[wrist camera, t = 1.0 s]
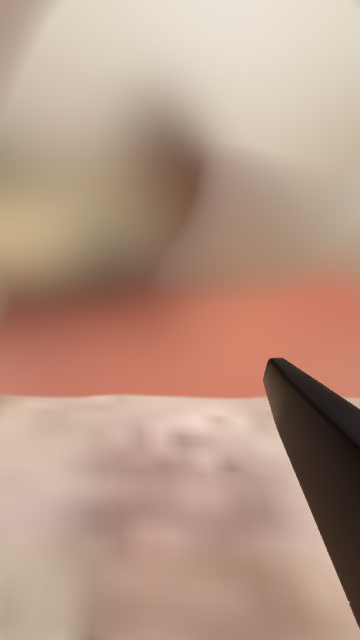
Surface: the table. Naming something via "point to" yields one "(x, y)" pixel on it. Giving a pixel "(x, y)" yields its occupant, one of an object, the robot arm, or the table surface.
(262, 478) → the table surface
